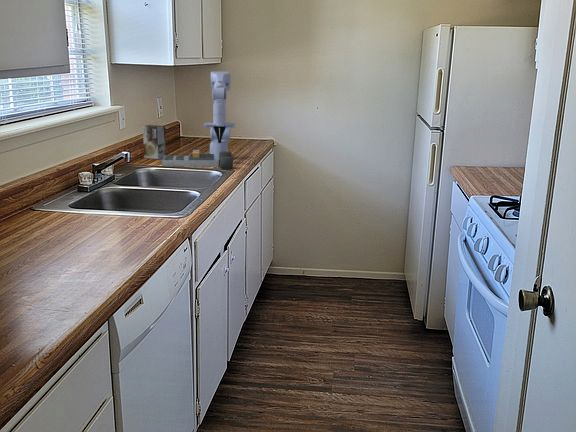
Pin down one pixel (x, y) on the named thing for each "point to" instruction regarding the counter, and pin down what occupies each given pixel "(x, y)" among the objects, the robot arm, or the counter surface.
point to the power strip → (191, 160)
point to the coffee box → (154, 141)
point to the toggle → (195, 154)
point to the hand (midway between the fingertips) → (219, 142)
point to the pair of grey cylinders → (226, 160)
